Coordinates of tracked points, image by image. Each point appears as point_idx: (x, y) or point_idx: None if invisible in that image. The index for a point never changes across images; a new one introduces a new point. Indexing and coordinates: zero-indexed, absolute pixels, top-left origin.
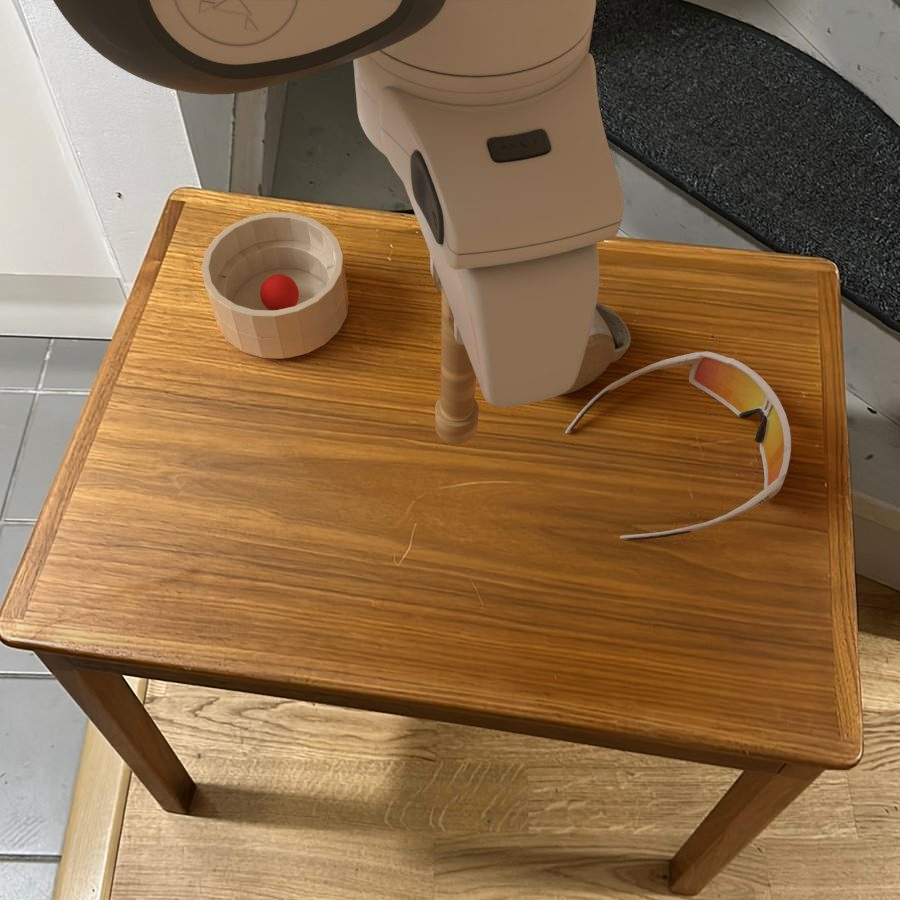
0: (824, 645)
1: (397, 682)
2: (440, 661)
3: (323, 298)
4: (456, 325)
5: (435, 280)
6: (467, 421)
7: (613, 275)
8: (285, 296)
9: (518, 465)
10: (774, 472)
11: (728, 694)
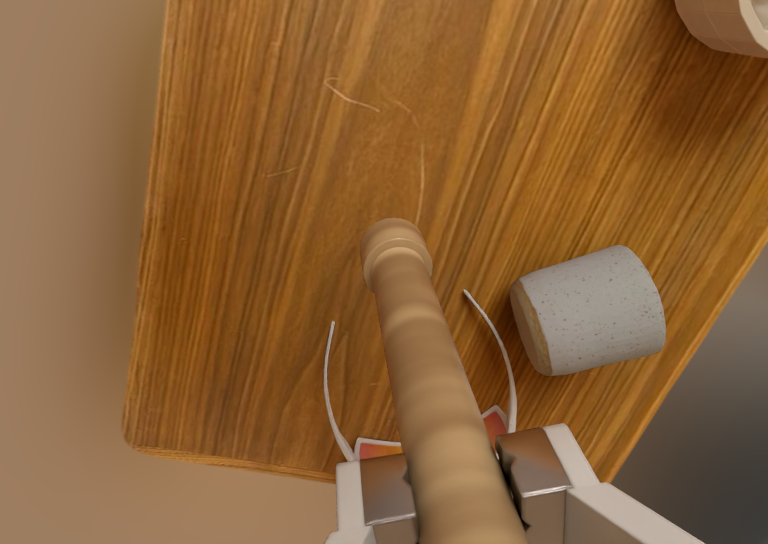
0: (217, 450)
1: (170, 65)
2: (198, 120)
3: (742, 24)
4: (339, 520)
5: (528, 446)
6: (371, 282)
7: (646, 360)
8: None
9: (435, 236)
10: (379, 455)
11: (170, 378)
